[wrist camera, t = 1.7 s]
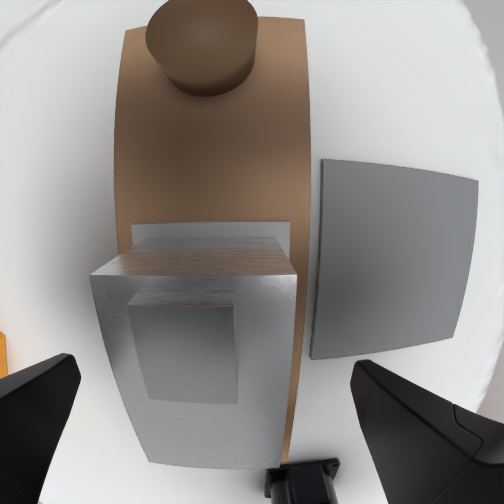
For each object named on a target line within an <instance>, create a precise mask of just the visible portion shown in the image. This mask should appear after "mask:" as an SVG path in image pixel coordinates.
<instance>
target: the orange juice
mask: <svg viewBox="0 0 504 504" xmlns="http://www.w3.org/2000/svg"><path fill="white" fill-rule="evenodd" d="M6 376H8V371H7V361H6V345H5V336H4V335H3V334H2V333H1V332H0V379H1V378H3V377H6Z"/></svg>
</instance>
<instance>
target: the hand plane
mask: <svg viewBox="0 0 504 504" xmlns="http://www.w3.org/2000/svg"><path fill="white" fill-rule="evenodd" d="M114 194H115V213H116V227H117V238H118V248H119V255H120V254H121V253H123V252H125V251H126V250H128V249H129V248H131V247H132V246H134V245H136V244H137V243H139V242H140V241H142V240H144V239H146V238H193V237H276V239H277V240H278V242H279V244H280V246H281V247H282V249H283V251H284V253H285V254H286V256H287V258H288V260H289V261H290V263H291V265H292V267H293V268H294V270H295V272H296V274H297V289H296V307H295V322H294V337H293V350H292V362H291V373H290V384H289V394H288V404H287V413H286V422H285V430H284V438H283V446H282V454H281V461H280V463H283V462H287V458H288V452H289V445H290V439H291V432H292V426H293V419H294V411H295V404H296V396H297V388H298V380H299V371H300V362H301V352H302V342H303V331H304V319H305V306H306V292H307V276H308V257H309V234H310V196H311V137H310V100H309V78H308V61H307V47H306V34H305V23H304V20H302V19H292V18H280V17H257V14H256V11H255V9H254V8H253V6H252V5H251V4H250V3H249V2H248V1H247V0H169V1H167V2H166V3H165V4H163V5H162V6H161V7H160V8H159V9H158V10H157V11H156V12H155V13H154V15H153V16H152V18H151V19H150V21H149V23H148V26H144V27H139V28H135V29H130V30H126V31H125V37H124V42H123V48H122V55H121V62H120V69H119V78H118V87H117V98H116V111H115V129H114Z"/></svg>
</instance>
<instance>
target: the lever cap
mask: <svg viewBox="0 0 504 504" xmlns="http://www.w3.org/2000/svg"><path fill="white" fill-rule="evenodd" d="M90 281H91V287H92V292H93V297H94V302H95V307H96V311H97V316H98V320H99V324H100V328H101V332H102V336H103V340H104V344H105V348H106V351H107V355H108V358H109V361H110V365H111V368H112V371H113V374H114V377H115V380H116V383H117V386H118V389H119V392H120V395H121V397H122V400H123V403H124V405H125V408H126V411H127V413H128V416H129V418H130V421H131V423H132V425H133V428H134V430H135V432H136V435H137V437H138V439H139V441H140V444H141V446H142V448H143V450H144V452H145V454H146V456H147V458H148V460H149V462H154V463H160V464H167V465H175V466H184V467H196V468H211V469H266V468H280V461H281V454H282V446H283V438H284V430H285V422H286V413H287V404H288V394H289V384H290V373H291V362H292V350H293V337H294V322H295V307H296V289H297V274H296V272H295V270H294V268H293V267H292V265H291V263H290V261H289V260H288V258H287V256H286V254H285V253H284V251H283V249H282V247H281V246H280V244H279V242H278V240H277V239H276V237H193V238H146V239H144V240H142V241H140V242H139V243H137V244H136V245H134V246H132V247H131V248H129V249H128V250H126V251H125V252H123V253H121V254H120V255H118V256H117V257H115V258H114V259H112V260H111V261H109V262H108V263H106V264H105V265H103V266H102V267H100V268H99V269H97V270H96V271H94V272H93V273H91V274H90Z"/></svg>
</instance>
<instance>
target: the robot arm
mask: <svg viewBox="0 0 504 504" xmlns="http://www.w3.org/2000/svg"><path fill="white" fill-rule="evenodd" d="M80 381H81V374H80V371H79V368H78V366H77V363H76V360H75V358H74V356H73V355H71V354H66V353H61V354H59V355H56V356H54V357H52V358H49V359H47V360H45V361H42V362H40V363H37V364H35V365H32V366H30V367H28V368H25V369H23V370H20V371H18V372H15V373H13V374H11V375H8V376H6V377H3V378H1V379H0V504H37V503H38V500H39V497H40V494H41V490H42V487H43V484H44V481H45V478H46V475H47V472H48V469H49V466H50V463H51V461H52V458H53V455H54V453H55V450H56V447H57V445H58V442H59V440H60V437H61V435H62V432H63V430H64V427H65V425H66V422H67V420H68V418H69V415H70V412H71V409H72V406H73V403H74V399H75V396H76V393H77V390H78V387H79V384H80ZM350 387H351V392H352V395H353V399H354V403H355V407H356V411H357V415H358V419H359V423H360V427H361V430H362V432H363V435H364V438H365V440H366V443H367V446H368V448H369V451H370V454H371V456H372V459H373V462H374V464H375V467H376V470H377V473H378V475H379V478H380V481H381V484H382V487H383V489H384V492H385V495H386V498H387V501H388V504H504V424H503V423H500V422H497V421H494V420H491V419H488V418H486V417H483V416H481V415H478V414H475V413H473V412H471V411H469V410H466V409H464V408H462V407H460V406H458V405H456V404H453V403H452V402H450V401H448V400H446V399H444V398H442V397H440V396H438V395H436V394H434V393H432V392H430V391H428V390H426V389H424V388H422V387H420V386H418V385H416V384H414V383H412V382H410V381H408V380H406V379H404V378H403V377H401V376H399V375H397V374H395V373H393V372H391V371H389V370H387V369H386V368H384V367H382V366H380V365H378V364H376V363H374V362H373V361H371V360H368V359H366V360H359V361H357V362H355V365H354V368H353V373H352V377H351V381H350ZM339 466H340V461H339V460H338V459H335V460H329V461H323V462H316V463H309V464H300V465H291V466H280V468H267V469H266V481H265V497H266V498H271V502H272V504H338V501H337V497H336V494H335V490H334V486H333V483H332V481H333V479H334V477H335V475H336V473H337V470H338V468H339Z"/></svg>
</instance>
